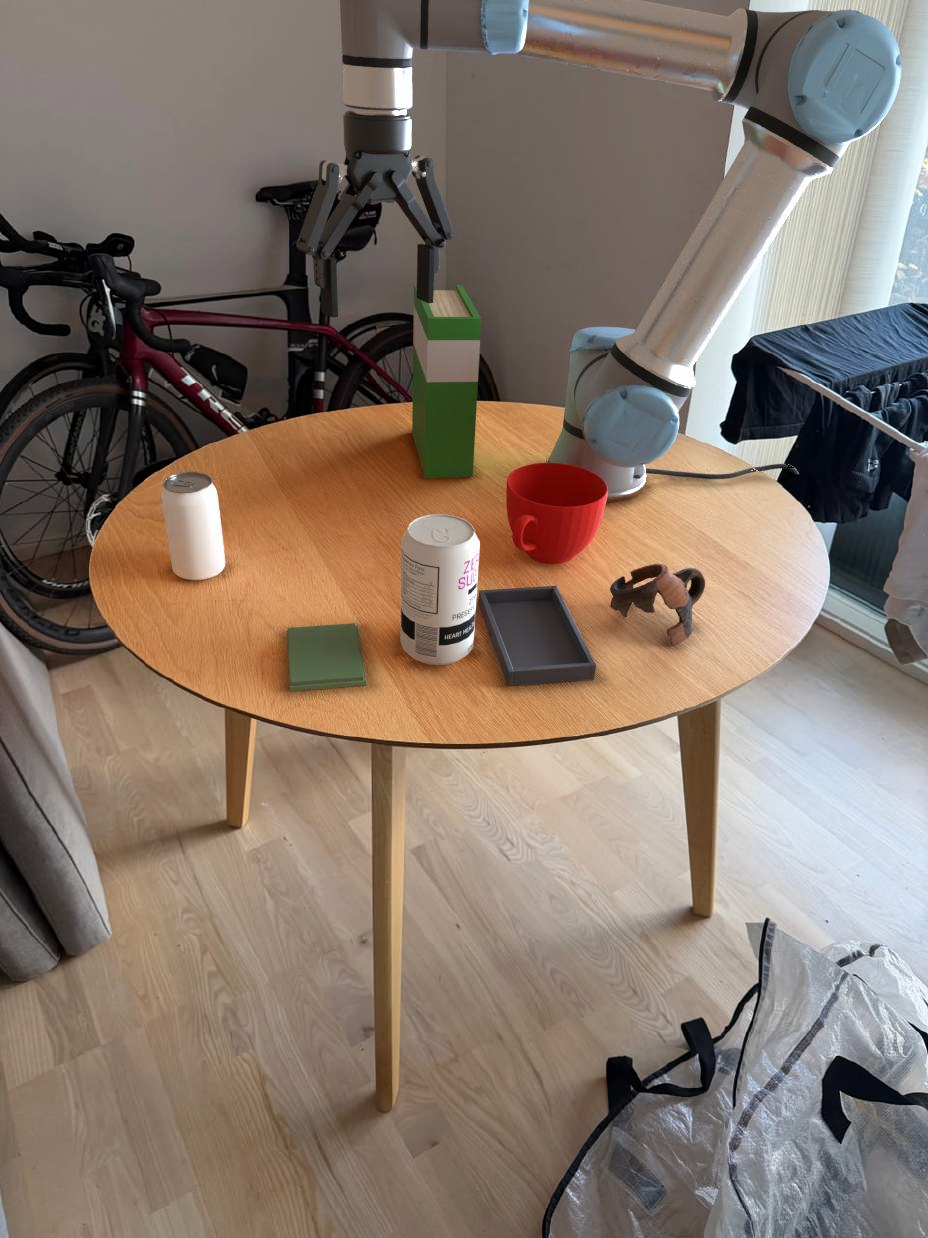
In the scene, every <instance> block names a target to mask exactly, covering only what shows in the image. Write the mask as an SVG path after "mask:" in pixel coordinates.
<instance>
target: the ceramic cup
mask: <svg viewBox="0 0 928 1238" xmlns="http://www.w3.org/2000/svg"><path fill="white" fill-rule="evenodd" d="M505 489H506V491H505V492H506V493H505V494H506V495H505V498H506V499H505V500H506V501H505V503H506V504H505V505H506V516H507V521H508V524H509V528H510V532H511V540H512V544H513V545H514V547H515V548H516V549H518V550H520V551H523V552H525V554H526V555H527V556H528V557H529V558H530V559H532V560H534V561H536V562H538V563H541V564H548V565H560V564H564V563H567V562H568V563H569V562H570V561H572V560H573V559H574V557H576V556H577V555H579V554H580V553H582V551H584V550H585V549H586V548H587V547H588V546H589V544H590V543H591V542H592V540H593V539H594V538H595V536H596V534H597V533H598V530H599V528H600V525H601V522H602V520H603V516H604V512H605V509H606V504H607V502H606V501H607V495H608V488H607V484H606V483H605V481H604V480H603V479H602V478H601V477H600V476H598V475H597V474H595V473H593V472H591V471H589V470H587V469H584V468H581V467H578V466H573V465H568V464H562V463H546V462H537V463H530V464H526V465H523V466H521V467H518V468H516V469H514V470H513V471H512V472H510V473H509V474H508V476H507V478H506V488H505Z"/></svg>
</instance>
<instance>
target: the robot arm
mask: <svg viewBox="0 0 928 1238" xmlns="http://www.w3.org/2000/svg"><path fill="white" fill-rule="evenodd" d="M339 9H340V10H339V11H340V13H339V14H340V33H341V34H340V39H341V55H342V56H341V62H342V64H341V65H342V67H341V68H342V70H341V71H342V104H343V105H344V106H345V107H347V108H348V110H346V111H345V112H344V114H343V117H342V118H343V119H342V120H343V146H344V151H345V158H344V161H343V163H337V162H336V163H334V162H332V161H330V160H329V161H328V160H325V159H323V160H320V162H319V165H318V180H317V181H318V182H317V185H316V187H315V190H314V193H313V196H312V199H311V201H310V205H309V207H308V210H307V213H306V216H305V217H304V218H305V219H304V221H303V224H302V227H301V228H300V229H301V230H300V233H299V235H298V238H297V241H296V245H295V246H296V249H297V250H298V251H299V252H302V253H305V254H306V255H308V256H311V257H312V267H313V281H314V284H315V286H317V287H319V288H320V308H321V313H323V314H324V315H326V316H329V317H330V318H334V319H335V318H339V302H338V299H339V298H338V269H337V266H338V265H337V258H334V257H332V256H331V255H332V253H333V252H334V250H335V249H336V247H337V245H338V244H339V242H340V241H341V239H342V238H343V236H344V234H345V233H346V231H347V230H348V228H349V227H350V225H351V223H352V222H353V220H354V218H356V215H357V214H358V212H359V211H361V210H362V209H364V207H365V206H366V204H368V205H372V206H373V205H378V204H381V203H387V204H395V203H396V204H397V206H398V207H399V208H400V210H401V211H402V212H403V214H404V215H405V217H406V218H407V219H408V221H409V222H410V224H411V225H412V227H413V228H414V230H415V231H416V232H417V234H418V235H419V237H420V238H421V239H422V241H423V242H424V243H417V248H416V249H417V250H416V252H417V253H416V257H417V259H416V285H417V299H420V300H422V301H424V302H426V303H433V298H434V290H435V274H438V273H439V270H440V249H443V248H445V246H446V244H447V243H446V241H452V240H453V239H454V237H455V232H454V229H453V228H454V227H453V226H452V223H451V221H450V218H449V214H448V211H447V209H446V206H445V204H444V201H443V198H442V196H441V192H440V189H439V186H438V184H437V182H436V177H435V163H434V160H433V159H432V158H430V157H426V156H424V155H418V154H417V155H416V156H415V157H414V158H412V159H411V158H410V151H411V148H412V129H413V128H412V127H413V125H412V123H413V122H412V121H413V118H412V117H411V116H410V114H409V113H407V111H408V110H410V109H411V108H412V107H413V52H414V49H420V50H437V51H450V52H464V53H481V54H482V53H483V54H489V56H490V55H491V56H494V55H499V54H509V55H514V56H519V57H525V58H531V59H537V60H542V61H547V62H551V63H559V64H563V65H567V66H575V67H580V68H585V69H590V70H595V71H596V70H597V71H603V72H606V73H607V72H608V73H613V74H619V75H624V76H629V77H635V78H640V79H644V80H645V79H646V80H651V81H658V82H663V83H667V84H672V85H679V86H684V87H689V88H690V87H691V88H696V89H701V90H706V91H709V93H710V95H711V96H712V98H713V99H712V100H714V102H719V103H724V104H729V105H734V106H737V107H741V108H742V109H743V108H744V109H746V110H747V111H746V113H745V114H744V117H743V118H742V120H741V125H742V131H743V136H744V142H743V145H742V146H741V148H740V149H739V152H738V153H737V155H736V157H735V159H734V161H733V162H732V164H731V165H730V167H729V168H728V171H727V172H726V174H725V176H724V177H723V179H722V181H721V183H720V184H719V186H718V188H717V189H716V191H715V192H714V195H713V196H712V198H711V200H710V202H709V203H708V205H707V206H706V208H705V210H704V212H703V214H702V216H701V217H700V219H699V221H698V222H697V224H696V225H695V227H694V229H693V231H692V233H691V235H690V236H689V238H688V240H687V241H686V242H685V245H684V246H683V248H682V250H681V251H680V253H679V255H678V256H677V258H676V260H675V261H674V263H673V265H672V267H671V269H670V271H669V272H668V274H667V275H666V277H665V279H664V281H663V283H662V284H661V286H660V287H659V289H658V290H657V293H656V295H655V296H654V298H653V300H651V301H652V302H651V303H650V305H648V308H647V309H646V312H645V313H644V315H643V317H642V319H641V320H640V322H639V324H638V325H637V327H636V329H634V328H626V327H616V326H592V327H590V326H589V327H585V328H582V329H579V330H577V331H576V332H575V333H574V335H573V337H572V342H571V347H570V349H569V354H570V358H569V367H568V377H567V385H566V392H565V393H566V395H565V401H564V402H565V403H564V410H563V411H564V413H563V421H562V427H561V431H560V434H559V435H558V438H557V440H556V442H555V444H554V447H553V448H552V451H551V452H550V455H549V457H548V458H547V457H545V463H562V464H568V465H573V466H578V467H581V468H584V469H587V470H589V471H591V472H593V473H595V474H597V475H598V476H600V477H601V478H602V479H603V480H604V481H605V483H606V484H607V488H608V495H607V501H606V503H615V502H616V503H617V502H622V501H627V500H630V499H633V498H635V497H637V496H639V495H640V494H641V493H643V491H644V488H645V486H646V479H647V474H650V475H661V476H670V477H681V478H690V479H691V478H693V479H703V480H727V479H734V478H738V477H742V476H744V475H748V474H751V473H757V472H756V470H758V471H759V472H766V471H772V470H778V469H779V470H781V469H782V470H787V471H789V472H791V473H792V474H793V475H800V473H799V471H798V470H797V468H796V467H794V468H787V467H788V465H789V464H788V465H786V464H787V463H772V464H765V465H760V466H752V467H753V468H755V469H756V470H754V469H753V468H752V467H747V468H744V469H740V470H737V471H734V472H729V473H701V472H693V471H692V472H690V471H681V470H670V469H661V468H648V467H646V465H649V464H652V463H653V462H655V461H658V460H659V459H660V458H662V457H663V456H664V455H665V454H666V453H668V451H669V450H670V449H671V447H672V446H673V444H674V443H675V441H676V440H677V436H678V433H679V428H680V415H679V411H680V410H681V408H682V407H683V405H684V404H685V402H686V400H687V399H688V398H689V396H690V394H691V392H692V391H693V389H694V388H695V386H696V379H695V374H694V366H695V363H696V362H697V360H698V359H699V357H700V356H701V354H702V352H703V351H704V349H705V348H706V346H707V344H708V343H709V341H710V340H711V338H712V337H713V335H714V333H715V332H716V330H717V328H718V327H719V325H720V324H721V322H722V321H723V319H724V318H725V316H726V314H727V313H728V311H729V310H730V308H731V307H732V306H733V304H734V302H735V301H736V299H737V297H738V296H739V294H740V292H741V290H743V287H744V286H745V284H746V282H747V281H748V280H749V278H750V276H751V275H752V273H753V272H754V271H755V269H756V267H757V265H758V263H759V262H760V260H761V259H762V258H763V255H764V254H765V252H766V251H767V250H768V247H769V246H770V245H771V243H772V241H773V240H774V238H775V237H776V235H777V233H778V232H779V230H780V228H781V227H782V225H783V224H784V222H785V220H786V219H787V217H788V216H789V214H790V213H791V211H792V210H793V208H794V206H795V205H796V203H797V202H798V200H799V198H800V197H801V195H802V193H803V192H804V191H805V189H806V187H807V186H808V184H809V183H810V182H811V181H812V180H814V179H816V178H820V177H822V176H825V175H828V174H831V173H832V171H833V169H835V167H836V165H837V163H838V162H839V160H840V159H841V158H842V156H843V155H844V154H845V151H846V150H847V148H848V146H849V145H850V143H851V142H855V141H858V140H859V139H861V138H862V137H864V136H866V135H867V134H869V133H871V131H873V130H874V129H875V128H876V127H877V126H878V125H880V123H881V122H882V121H883V119H885V117H886V116H887V114H888V112H889V111H890V110H891V108H892V106H893V104H894V103H895V99H896V97H897V94H898V92H899V88H900V85H901V81H902V80H901V79H902V70H903V69H902V63H901V62H902V57H901V51H900V47H899V43H898V42H897V39H896V38H895V36H894V34H893V33H892V31H891V29H890V28H889V27H888V26H887V25H885V24H884V23H883V22H882V21H881V20H879V19H877V18H876V17H873V16H871V15H869V14H864V13H863V12H861V11H859V10H857V9H855V10H854V9H840V10H834V11H833V10H832V11H831V10H820V9H808V10H799V11H798V10H797V11H785V12H784V11H782V12H781V11H760V10H753V9H747V8H741V7H740V8H737V9H736V10H735V11H733V12H732V13H731V14H730V15H721V14H716V13H711V12H707V11H706V12H705V11H700V10H695V9H690V8H686V7H685V8H683V7H679V6H673V5H668V4H663V3H657V2H653V1H646V0H339ZM411 175H412V177H413V178H414V179H415V183H416V186H417V189H418V191H419V194H420V197H421V199H422V201H423V204H424V208H425V209H426V212H427V215H428V216H427V215H426V213H425V211H424V210H423V209H422V208H421V206H420V205H419V203H418V202H417V200H416V196H415V195H414V193H413V191H412V190H411V188H410V187H409V185H408V184H407V183H408V180H409V179H410V177H411ZM343 178H344V179H345V180H346V182H347V185H346V187H345V188H344V190H343V191H342V192H341V195H340V201H338V203H337V205H336V207H335V208H334V210H333V212H332V213H331V211H332V207H333V205H334V202H335V199H336V196H337V193H338V189H339V185H340V184H341V183H343V180H344V179H343ZM330 213H331V215H330ZM790 466H791V465H790ZM790 466H789V467H790ZM784 467H785V468H784ZM751 470H753V471H751Z"/></svg>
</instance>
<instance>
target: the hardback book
mask: <svg viewBox="0 0 928 1238" xmlns="http://www.w3.org/2000/svg"><path fill="white" fill-rule="evenodd" d="M481 333H482V317H481V315H480V314H479V312H478V310H477V308H476V306H475V305H474V303H473V301H472V299H471V298H470V296H469V294H468V293H467V291H466V289H465V288H464V286H463V284H455V289H451V290H450V289H434V298H433V303H426V302H424V301H422V300H420V299H417V284H413V337H412V338H413V339H412V340H413V341H412V342H413V344H412V348H413V349H412V350H413V351H412V410H411V411H412V412H411V413H412V415H411V417H412V418H411V419H412V420H411V421H412V422H411V424H412V425H411V432H412V433H411V434H412V436H413V440H414V445H415V448H416V451H417V455H418V459H419V462H420V465H421V470H422V474H423V477H424V479H437V478H439V479H440V478H441V479H442V478H473V477H474V462H475V446H476V445H475V444H476V426H477V425H476V424H477V405H478V391H479V390H478V388H479V387H478V386H479V372H480V371H479V369H480V351H481V335H482V334H481Z"/></svg>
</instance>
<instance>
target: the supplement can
mask: <svg viewBox="0 0 928 1238" xmlns="http://www.w3.org/2000/svg"><path fill="white" fill-rule="evenodd" d="M480 548H481V541H480V539H479V538H478V536H477V534H476V529H475V528H474V525H473V524H472V523H471V522H470V521H468V520H467V519H465V518H462V517H460V516H457V515H452V514H446V513H432V514H426V515H425V514H424V515H422V516H419V517H417V518H415V519H412V521H411V522H410V523H408V526H407V529H406V530H405V532H404V534H403V536H402V539H401V542H400V634H399V635H400V639H399V640H400V641H399V642H400V645H401V647H402V648H401V649H402V650H403V651H404V652H405V653H406V654H407V655H408V656H409V657H411V658H412V659H413V660H415V661H418V662H419V663H422V664H425V665H430V666H446V665H451V664H455V663H457V662H458V661H460V660H462V659H464V658H465V657H467V656H468V655H469V654H470V653H471V651H472V650H473V648H474V642H475V625H476V611H477V598H478V597H477V595H478V581H479V580H478V579H479V564H480Z"/></svg>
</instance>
